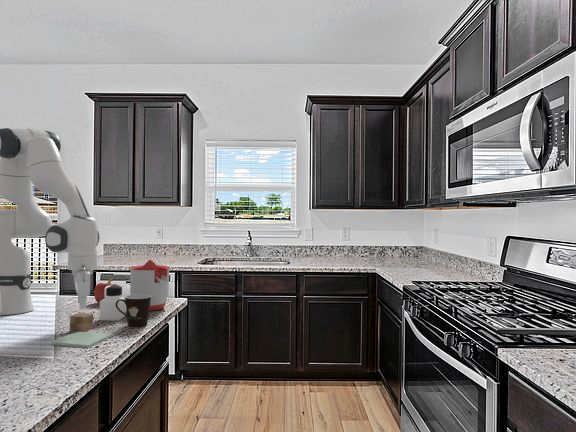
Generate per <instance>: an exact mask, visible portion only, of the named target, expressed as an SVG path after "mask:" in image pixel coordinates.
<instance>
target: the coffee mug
mask: <svg viewBox="0 0 576 432" xmlns="http://www.w3.org/2000/svg"><path fill="white" fill-rule="evenodd" d="M124 298H125V300H123V299H120V300H118V301H116V308H117V309H118V310H119V311H120V312H121V313H122V314H124V315H125V317H126V321H127V326H128V327H130V328H144V327H146V326H148V319H149V313H150V311H149V307H150V300H151V296H150V295H145V294H135V295H131V294H129V295H126V296H124ZM119 301H123V302H124V303H125V304H126V308H125V313H124V312H123V311H121V310H120V309H119V308H118V306H117V304H118V302H119Z"/></svg>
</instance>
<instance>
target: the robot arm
mask: <svg viewBox="0 0 576 432" xmlns="http://www.w3.org/2000/svg"><path fill="white" fill-rule="evenodd" d="M61 148H62V145H61V139H60V138H59V136H58V135H57V133H55V132H52V131H49V130H40V129H34V128H8V127H6V128H0V197H1V198H3V199H4V200H6V201H9V202H11V203H13V204H15V205H16V207H17V208H15V209H6V208H5V209H1V208H0V316H5V315H17V314H23V313H29V312H31V311H34V310H35V309H34V308H35V307H34V305H33V301H32V300H33V299H32V294H31V283H32V273H30V272H31V255H30V253H29V251H27V250H26V249H25V248H22V247H19V246H17V245H14V243H13V242H12V240H13V239H36V238H41V237H44V241H45V245H46V247H47V249H48V250H49V251H51V252H52V253H56V254H61V253H62V254H63V253H64V254H65V253H68V254H67V270H69V271H71V275H73V281H74V287H75V292H76V296H77V303H78V304H79V309H80V310H85V309H86V308H87V307H86V306H87V299H88V297H89V296H90V295H91V275H93V273H94V270H97V269H98V251H97V246H98V245H99V242H100V233H99V232H100V231H98V224H97V221H96V219H95V217H93V216H90V213H89V211H88V209H87V206H86V203H85V202H84V199H83V197H82V195H81V192H80V190H79V188H78V187H77V185H76V184H75V183H74V182H73V181H72V180H71V178H70V177H69V175H68V173H67V171H66V168H65V167H64V163H63V159H62V155H61V154H60V152H61ZM33 186H34V187H35V189H36V190H38V191H40V192H42V193H43V194H47V195H49V196H51V197H54V198H55V199H57V200H58V201H61V202H62V203H63V204H64V206H66V207H65V208H66V209H67V210H68V213H69V218H68V220H67V219H66V221H64V222H63V221H62V222H61V223H58V224H54V225H53V220H52V217H51V215H49V213H48V212H46V211H45V210H44V209H43V208H41V207H40V205H39V204H38V203H37V201H36V199H35V196H34V188H33Z"/></svg>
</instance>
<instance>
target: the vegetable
mask: <svg viewBox="0 0 576 432" xmlns="http://www.w3.org/2000/svg"><path fill="white" fill-rule="evenodd" d="M111 282H113V278H109V279H108V281H107V283H102V282H100V283H96V284H95V286H94V291H93V292H94V300H95V301H96V303H98V304H100V301H101V300H103V299H105V297H104V291H105V287H107V286H111V285H118V286H120V285H119V284H117V283H113V284H112V283H111Z"/></svg>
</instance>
